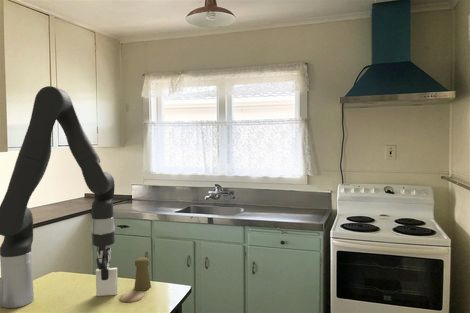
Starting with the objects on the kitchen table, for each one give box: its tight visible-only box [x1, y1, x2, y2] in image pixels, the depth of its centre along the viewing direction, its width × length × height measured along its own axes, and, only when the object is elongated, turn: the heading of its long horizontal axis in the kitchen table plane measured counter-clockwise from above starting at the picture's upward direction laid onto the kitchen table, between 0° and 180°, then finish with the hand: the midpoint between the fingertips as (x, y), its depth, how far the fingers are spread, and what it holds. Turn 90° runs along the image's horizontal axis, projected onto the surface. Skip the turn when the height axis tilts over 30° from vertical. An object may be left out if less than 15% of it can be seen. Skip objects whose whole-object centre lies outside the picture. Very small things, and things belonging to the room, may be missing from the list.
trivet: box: [119, 290, 145, 303], centre depth 129 cm, size 8×8×1 cm
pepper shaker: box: [134, 256, 152, 292], centre depth 137 cm, size 6×6×11 cm
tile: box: [95, 267, 119, 297], centre depth 132 cm, size 7×2×9 cm, turn 99°
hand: (105, 279), depth 129 cm, fingers closed
